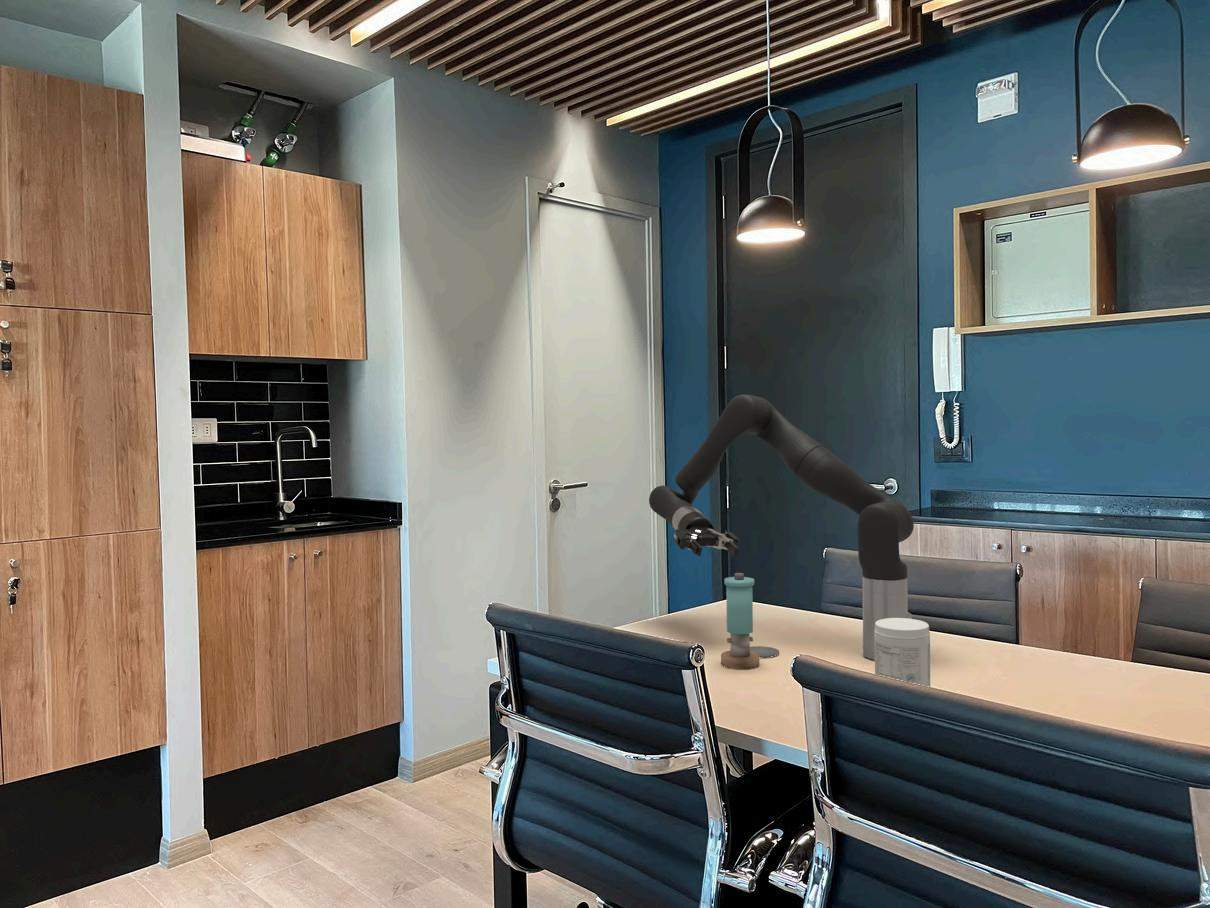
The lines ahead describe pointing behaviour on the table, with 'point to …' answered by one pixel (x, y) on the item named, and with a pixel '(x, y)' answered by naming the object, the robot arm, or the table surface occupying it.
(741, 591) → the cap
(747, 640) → the post
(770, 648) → the pad
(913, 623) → the supplement tub
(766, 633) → the table surface
